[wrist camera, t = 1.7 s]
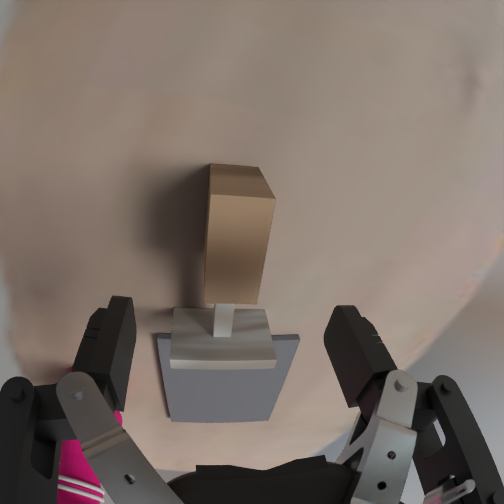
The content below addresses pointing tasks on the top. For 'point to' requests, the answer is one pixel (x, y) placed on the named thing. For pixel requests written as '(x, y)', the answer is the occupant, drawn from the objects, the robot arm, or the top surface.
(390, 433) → the robot arm
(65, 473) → the pepper mill
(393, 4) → the top surface
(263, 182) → the wood and metal piece
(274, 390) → the mat
